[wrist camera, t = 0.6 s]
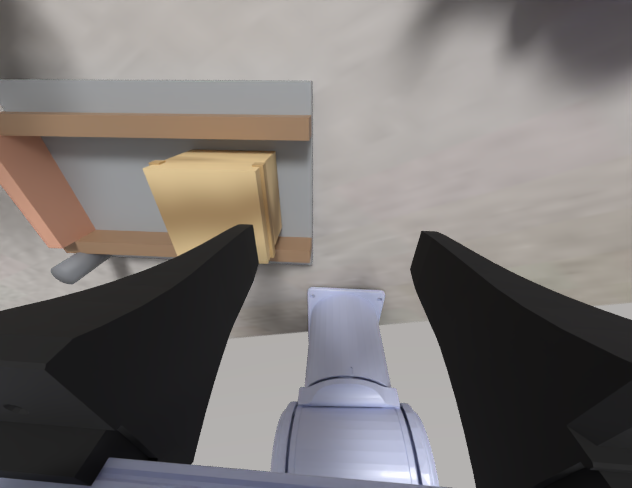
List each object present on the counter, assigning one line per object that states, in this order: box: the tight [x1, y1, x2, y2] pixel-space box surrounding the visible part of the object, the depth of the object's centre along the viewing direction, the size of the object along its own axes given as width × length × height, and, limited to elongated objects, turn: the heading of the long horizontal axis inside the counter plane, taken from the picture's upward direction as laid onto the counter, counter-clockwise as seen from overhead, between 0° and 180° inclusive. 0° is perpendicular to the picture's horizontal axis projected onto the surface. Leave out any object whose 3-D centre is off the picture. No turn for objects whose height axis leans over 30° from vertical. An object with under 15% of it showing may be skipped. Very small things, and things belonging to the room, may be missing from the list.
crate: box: [143, 150, 282, 264], centre depth 16 cm, size 6×6×5 cm
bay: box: [0, 79, 313, 284], centre depth 17 cm, size 14×21×5 cm, turn 90°
